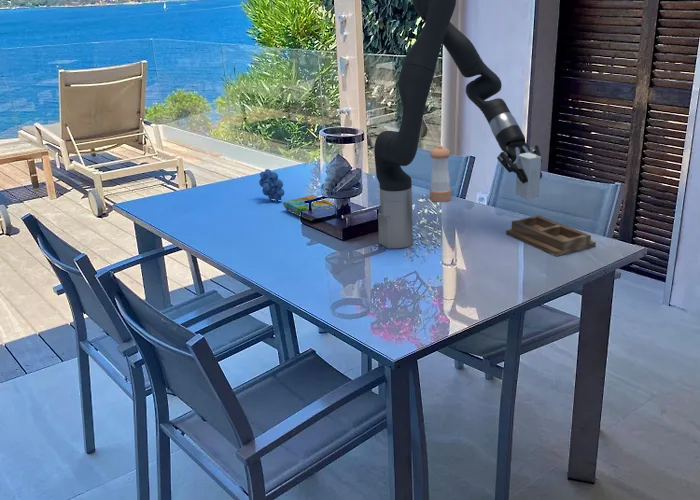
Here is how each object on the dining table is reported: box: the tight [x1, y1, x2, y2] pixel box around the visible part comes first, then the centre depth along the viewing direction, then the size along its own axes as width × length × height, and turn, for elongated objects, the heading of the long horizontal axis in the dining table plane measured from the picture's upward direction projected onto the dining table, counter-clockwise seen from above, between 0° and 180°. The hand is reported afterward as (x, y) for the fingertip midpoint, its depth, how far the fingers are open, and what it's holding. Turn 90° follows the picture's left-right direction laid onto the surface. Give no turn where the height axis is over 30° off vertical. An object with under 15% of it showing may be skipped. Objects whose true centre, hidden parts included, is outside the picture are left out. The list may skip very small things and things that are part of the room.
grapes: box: [258, 168, 285, 201], centre depth 250 cm, size 12×7×12 cm, turn 53°
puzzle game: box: [282, 194, 335, 215], centre depth 234 cm, size 12×5×20 cm
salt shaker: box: [429, 145, 452, 203], centre depth 240 cm, size 7×7×19 cm
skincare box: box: [515, 153, 542, 200], centre depth 197 cm, size 6×4×12 cm
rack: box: [505, 215, 597, 257], centre depth 198 cm, size 14×22×4 cm, turn 25°
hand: (532, 180), depth 196 cm, fingers closed on skincare box, 4 cm apart
